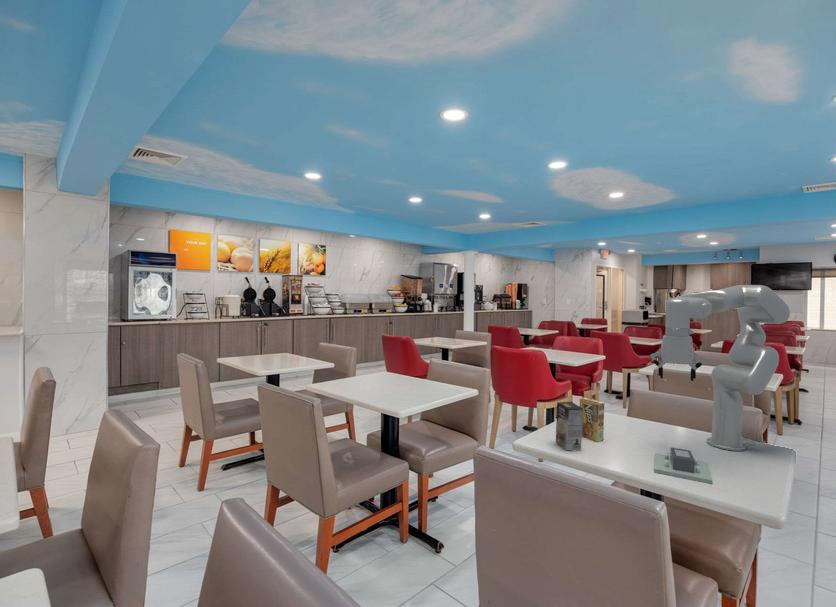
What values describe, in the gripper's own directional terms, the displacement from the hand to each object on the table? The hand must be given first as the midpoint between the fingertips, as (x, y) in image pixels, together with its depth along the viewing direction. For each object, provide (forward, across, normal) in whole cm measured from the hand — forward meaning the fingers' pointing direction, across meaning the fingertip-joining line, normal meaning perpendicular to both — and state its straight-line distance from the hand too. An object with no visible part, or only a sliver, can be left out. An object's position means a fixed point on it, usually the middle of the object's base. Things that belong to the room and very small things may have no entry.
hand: (676, 379), depth 160 cm
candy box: (+27, +30, -2) cm, 40 cm away
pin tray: (+27, -1, +16) cm, 31 cm away
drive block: (+26, -1, +15) cm, 30 cm away
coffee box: (+27, +36, +13) cm, 47 cm away
